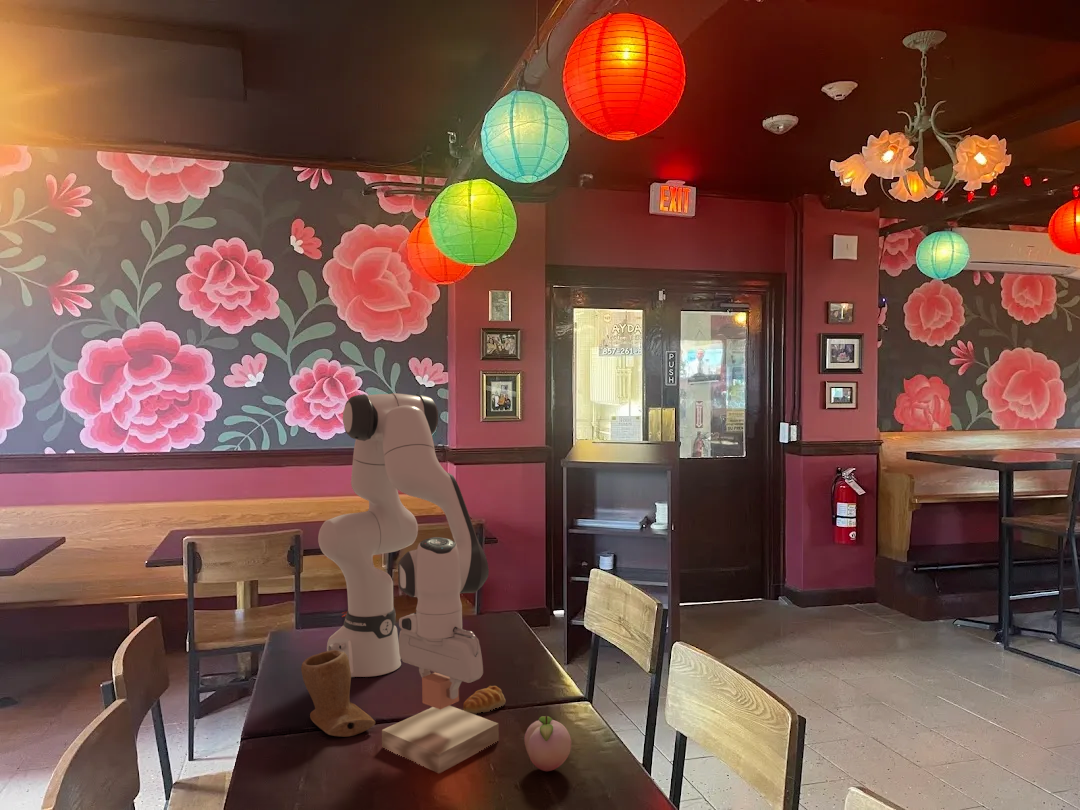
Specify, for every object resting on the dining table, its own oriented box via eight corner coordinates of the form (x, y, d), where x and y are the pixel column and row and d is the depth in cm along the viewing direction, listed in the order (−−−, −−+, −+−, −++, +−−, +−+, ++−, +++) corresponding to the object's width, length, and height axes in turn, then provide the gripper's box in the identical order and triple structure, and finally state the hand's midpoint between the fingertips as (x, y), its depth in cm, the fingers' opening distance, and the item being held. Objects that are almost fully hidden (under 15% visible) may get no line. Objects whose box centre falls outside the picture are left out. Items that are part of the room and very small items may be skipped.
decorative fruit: (577, 780, 136) (576, 724, 136) (531, 786, 134) (531, 729, 134) (564, 755, 145) (563, 703, 145) (521, 760, 143) (521, 707, 143)
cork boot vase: (295, 721, 162) (293, 650, 161) (350, 707, 168) (348, 639, 168) (318, 748, 149) (317, 672, 149) (376, 732, 156) (375, 659, 155)
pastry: (476, 719, 162) (475, 701, 162) (455, 710, 166) (455, 693, 166) (508, 705, 168) (507, 688, 168) (487, 697, 173) (487, 680, 173)
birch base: (382, 750, 149) (381, 729, 149) (442, 721, 162) (442, 702, 161) (439, 776, 139) (438, 754, 139) (498, 743, 151) (498, 723, 151)
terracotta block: (422, 703, 150) (422, 677, 149) (441, 694, 153) (440, 669, 153) (440, 709, 146) (439, 683, 146) (459, 701, 150) (458, 675, 150)
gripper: (489, 629, 145) (490, 701, 146) (416, 610, 158) (418, 677, 159) (466, 637, 141) (467, 712, 141) (393, 617, 154) (394, 686, 154)
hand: (440, 693), depth 150 cm, fingers closed on terracotta block, 5 cm apart
